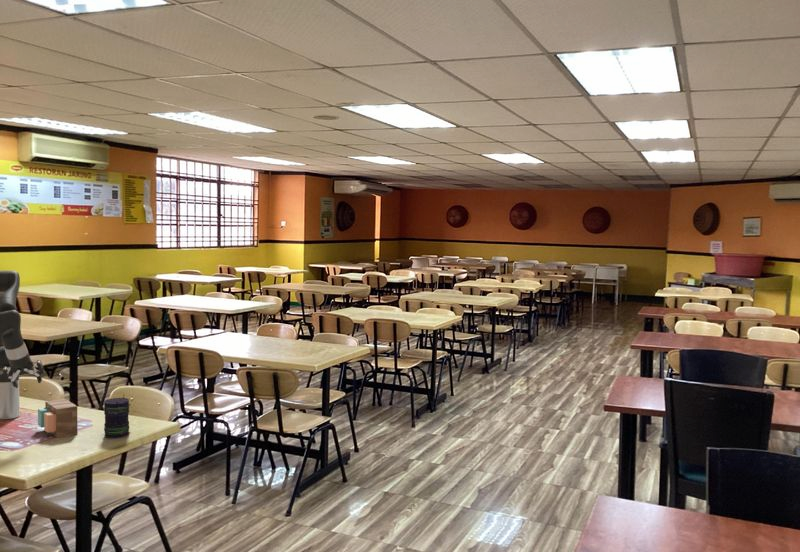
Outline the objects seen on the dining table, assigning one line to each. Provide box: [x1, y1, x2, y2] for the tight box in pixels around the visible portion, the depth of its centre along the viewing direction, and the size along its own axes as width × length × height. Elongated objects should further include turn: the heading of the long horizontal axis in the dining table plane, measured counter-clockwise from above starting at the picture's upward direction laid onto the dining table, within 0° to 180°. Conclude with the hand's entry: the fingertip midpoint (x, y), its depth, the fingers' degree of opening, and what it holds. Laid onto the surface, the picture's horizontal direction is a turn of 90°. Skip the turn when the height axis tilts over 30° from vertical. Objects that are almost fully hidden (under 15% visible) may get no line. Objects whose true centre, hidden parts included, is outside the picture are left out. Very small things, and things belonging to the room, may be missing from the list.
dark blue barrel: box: [103, 397, 130, 440], centre depth 275 cm, size 10×10×15 cm
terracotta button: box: [43, 412, 56, 433], centre depth 272 cm, size 5×6×7 cm
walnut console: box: [44, 398, 79, 438], centre depth 279 cm, size 17×8×12 cm, turn 43°
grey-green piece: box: [37, 407, 50, 428], centre depth 279 cm, size 5×6×7 cm
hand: (28, 384), depth 271 cm, fingers open, 8 cm apart
